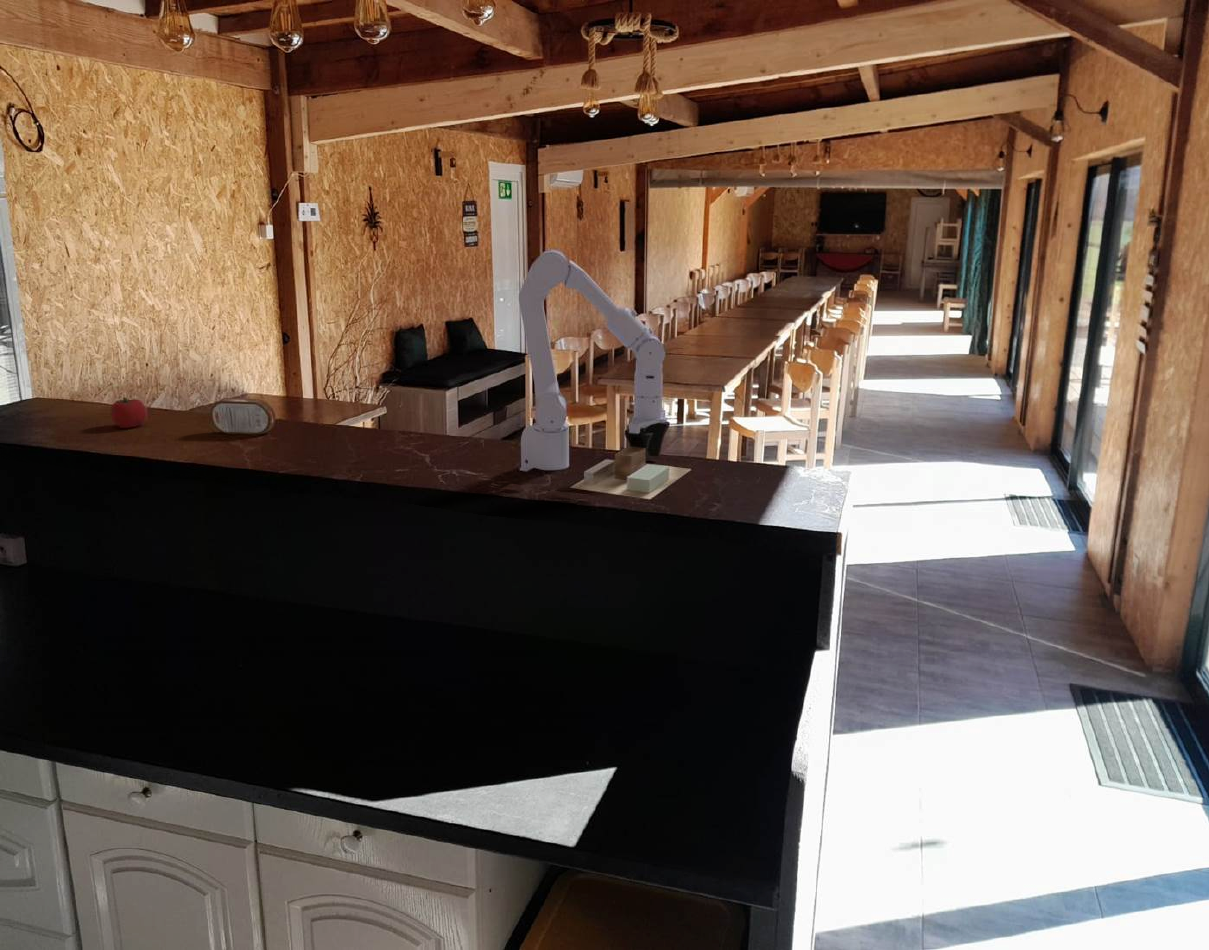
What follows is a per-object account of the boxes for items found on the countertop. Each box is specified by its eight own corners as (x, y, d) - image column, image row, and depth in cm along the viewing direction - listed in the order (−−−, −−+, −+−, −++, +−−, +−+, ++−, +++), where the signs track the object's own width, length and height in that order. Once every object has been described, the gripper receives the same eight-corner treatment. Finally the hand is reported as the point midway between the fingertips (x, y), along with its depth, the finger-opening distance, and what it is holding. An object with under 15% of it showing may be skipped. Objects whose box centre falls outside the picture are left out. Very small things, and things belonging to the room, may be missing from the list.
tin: (277, 433, 223) (274, 398, 221) (271, 436, 220) (268, 401, 218) (217, 431, 225) (213, 396, 222) (210, 434, 222) (206, 399, 219)
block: (614, 478, 185) (615, 454, 183) (629, 469, 191) (629, 445, 189) (631, 480, 183) (631, 456, 182) (645, 471, 189) (645, 447, 188)
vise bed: (570, 492, 179) (570, 487, 179) (617, 464, 198) (618, 459, 198) (649, 504, 173) (649, 499, 172) (691, 473, 192) (691, 469, 191)
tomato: (121, 432, 223) (117, 402, 221) (106, 426, 228) (101, 397, 226) (154, 425, 229) (150, 396, 227) (138, 421, 234) (134, 392, 232)
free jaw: (626, 489, 177) (626, 477, 177) (647, 476, 186) (647, 464, 185) (649, 493, 175) (649, 480, 175) (669, 479, 184) (669, 467, 183)
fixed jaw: (584, 484, 181) (584, 471, 180) (606, 471, 190) (606, 459, 189) (593, 485, 180) (593, 473, 180) (615, 472, 189) (615, 460, 188)
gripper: (652, 404, 182) (651, 471, 186) (679, 390, 195) (677, 453, 199) (619, 400, 185) (619, 466, 189) (648, 387, 198) (646, 450, 202)
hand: (647, 460), depth 194 cm, fingers open, 7 cm apart
